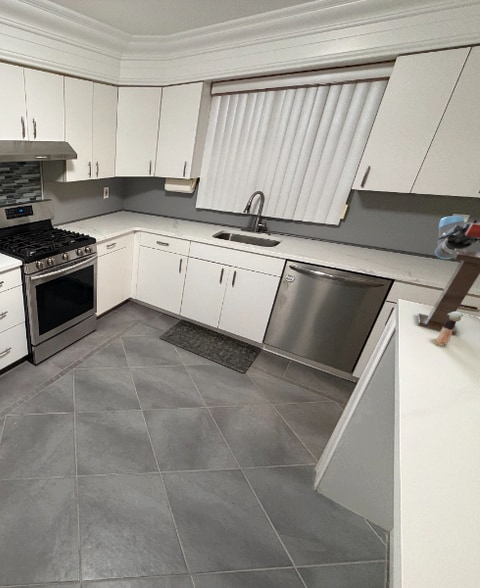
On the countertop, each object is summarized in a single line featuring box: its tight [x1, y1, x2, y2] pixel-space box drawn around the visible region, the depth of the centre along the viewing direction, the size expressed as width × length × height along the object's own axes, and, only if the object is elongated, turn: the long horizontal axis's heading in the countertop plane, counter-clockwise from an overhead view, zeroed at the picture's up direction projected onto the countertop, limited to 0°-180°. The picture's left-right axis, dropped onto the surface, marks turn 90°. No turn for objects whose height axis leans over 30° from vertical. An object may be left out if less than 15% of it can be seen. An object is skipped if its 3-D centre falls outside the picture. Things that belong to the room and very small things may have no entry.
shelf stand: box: [416, 249, 480, 336], centre depth 116 cm, size 12×10×29 cm
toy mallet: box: [465, 222, 480, 238], centre depth 120 cm, size 15×6×4 cm, turn 137°
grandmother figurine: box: [432, 311, 464, 347], centre depth 108 cm, size 8×4×13 cm, turn 137°
